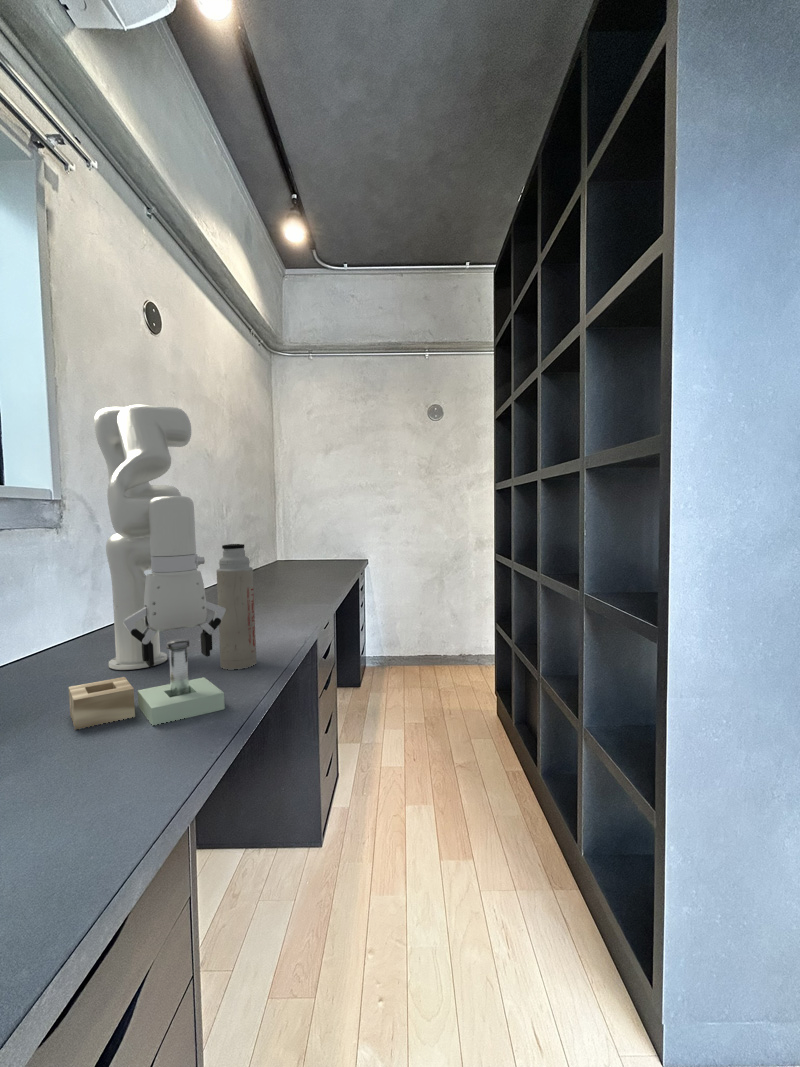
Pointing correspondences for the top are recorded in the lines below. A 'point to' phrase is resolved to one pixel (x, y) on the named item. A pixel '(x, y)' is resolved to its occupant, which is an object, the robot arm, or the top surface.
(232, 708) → the top surface
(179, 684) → the pin
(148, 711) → the dock
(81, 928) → the top surface
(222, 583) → the thermos bottle
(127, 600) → the robot arm
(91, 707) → the frame
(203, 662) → the top surface
